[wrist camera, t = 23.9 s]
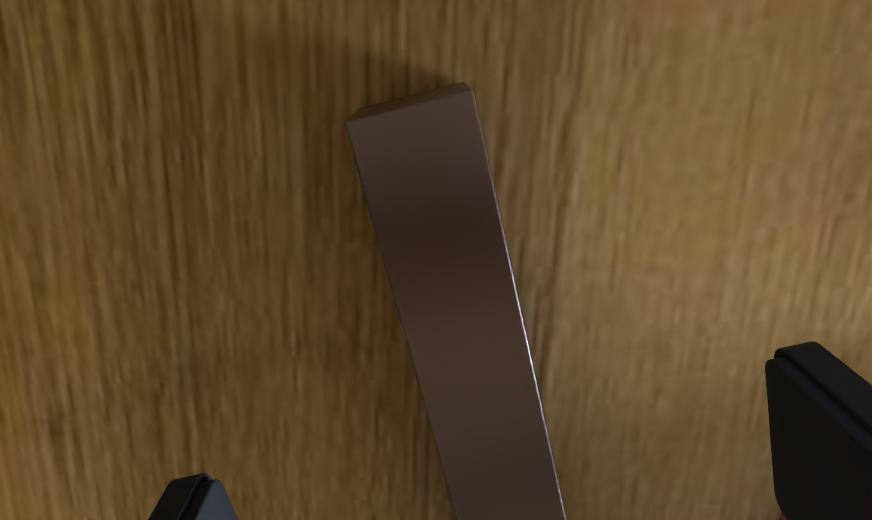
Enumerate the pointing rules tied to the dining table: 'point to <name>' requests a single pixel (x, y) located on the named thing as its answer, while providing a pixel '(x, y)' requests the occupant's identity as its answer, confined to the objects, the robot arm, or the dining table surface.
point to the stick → (457, 300)
